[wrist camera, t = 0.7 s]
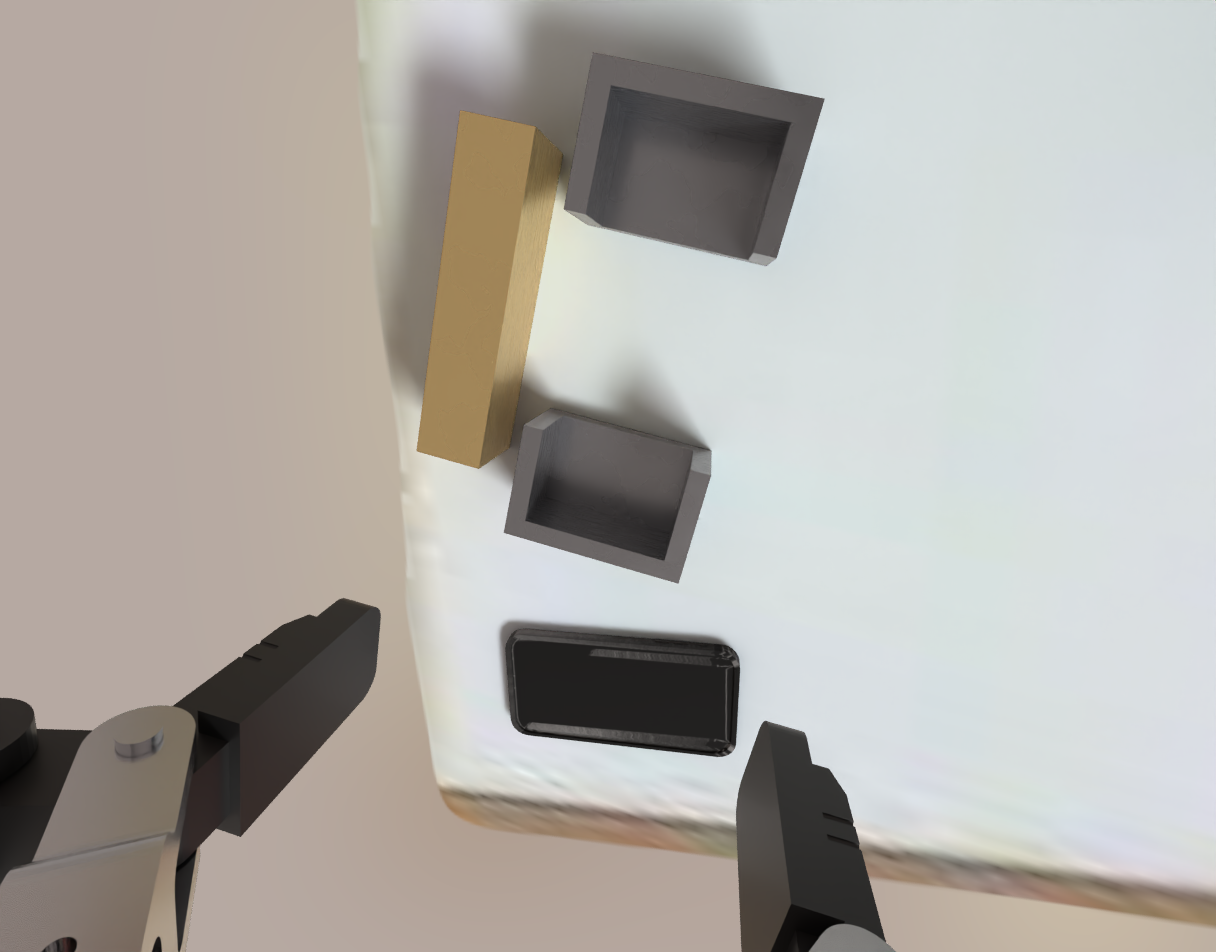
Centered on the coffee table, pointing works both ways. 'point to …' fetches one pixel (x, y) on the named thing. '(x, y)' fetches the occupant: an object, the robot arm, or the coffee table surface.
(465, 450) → the link bar
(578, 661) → the phone
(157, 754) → the robot arm
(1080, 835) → the coffee table surface
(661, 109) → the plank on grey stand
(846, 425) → the coffee table surface
